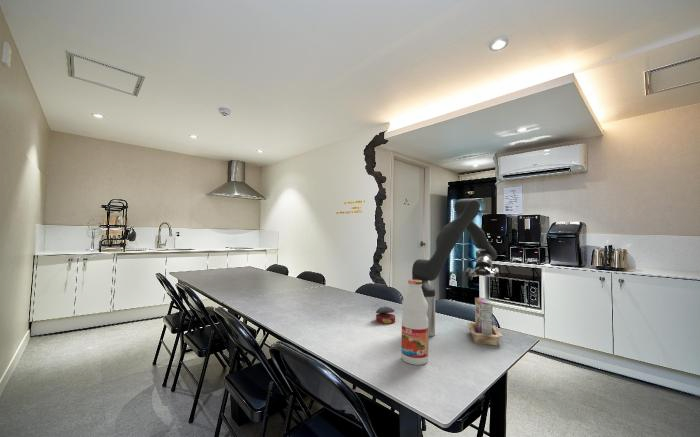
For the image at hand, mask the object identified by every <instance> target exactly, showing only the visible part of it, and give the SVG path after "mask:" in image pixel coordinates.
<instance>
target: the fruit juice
mask: <svg viewBox="0 0 700 437" xmlns="http://www.w3.org/2000/svg"><path fill="white" fill-rule="evenodd" d="M421 286H422V281H421V280H412V279H408V289H407V292H406V295H405V297H404V299H403V300H402V304H401V306H402V311H403V312H402V313H403V314H402V317H401V349H400V350H401V352H400V353H401V354H400V355H401V359H402V360H403V361H404V362H405V363H407V364H410V365H412V366H415V365H416V366H423V365H425V364H427V363H428V362H429V337H428V327H429V324H428V317H427V311H428V303H427V301H426V299H425V297H424V295H423V292H422V288H421Z"/></svg>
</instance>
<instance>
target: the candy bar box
mask: <svg viewBox="0 0 700 437" xmlns="http://www.w3.org/2000/svg"><path fill="white" fill-rule="evenodd" d="M474 306H475V307H474V313H475V314H474V315H475V317H474V318H475V321H474V322H475V326H476V333H482V334H491V335H493V325H494V323H493V320H494V318H493V317H494V316H493V303H492V302H491V301H489V300H488V299H487V298H486V297H474Z"/></svg>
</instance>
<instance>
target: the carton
mask: <svg viewBox="0 0 700 437" xmlns="http://www.w3.org/2000/svg"><path fill="white" fill-rule="evenodd" d="M467 326H468V330H469V333H470V334H471V336H472V339H473V342H474V343H475V344H483V345H490V346H497V347H498V346H499V338H503V335H502V333H501V331H500V330H499V328H498V327H497V326H496V324H495V325H494V324H493V335H491V334H482V333H476V326H475V321H474V322H473V321H470V322H467Z"/></svg>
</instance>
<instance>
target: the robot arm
mask: <svg viewBox="0 0 700 437" xmlns="http://www.w3.org/2000/svg"><path fill="white" fill-rule="evenodd" d="M453 209H454V212H455V214H456V216H457V217H456V218H455V219H453V220H452V221H450V222H449V223H447V224H445V226H443V227H442V228H441V230H440V232H439V233H438V235H437V236H436V240H435V247H436V248H435V251H434V253H433V255H432V256H431V257H430V259H422V258H420V259H419V258H418V259H416V260H415V261H414V262H413V264H412V269H411V273H412V274H411V275H412V276H411V277H412V278H411V280H421V281H422V286H421V288H422V292H423V295H424V297H425V299H426V301H427V303H428V311H427V317H428V324H429V327H428V338H430V337H433V336H435V335H436V290H435V288H433V287H432V286H431V285H430V283H429V282H432V281H434V280H436V279H437V278H438V277H439V275H440V273H441V271H442V269H443V268H444V265H445V264H446V261H447V259H448V258H449V256H450V254H451V253H452V251H453V249H454V248H455V246H456V245H457V243H458V242H459V241H460V238H461V237H462V235H463V234H464V232H465V231H467V232H468V234H469V236H470V238H471V241H472V242H473V245H474V247H475V248H476V249H477V250H476V251H475V257H476V262H475V266H474V267H473V268H471V267H467V268H466V270H465V276H466V277H467V278H468V279H469V280H470V281H473V277H474V278H475V277H479V276H483V277H489V278H490V281H491V282H492V281H494V280H495V278H499V277H500V271H499V267H495V268H493V261H495V260H497V257H498V252H497V250H496V249H495V248H494V247H493V246H492V245H491V243H489V240H488V239H487V236H486V233H485V231H484V230H483V229H482V228H481V227H480V226H479V225H478V224H477V223H476V222H474V219H475V218H476V217H477V216H478V214H479V212H480V210H481V204H480V201H479V200H477V199H476V198H461V199H457V200H456V201H455V203H454V208H453Z"/></svg>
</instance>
